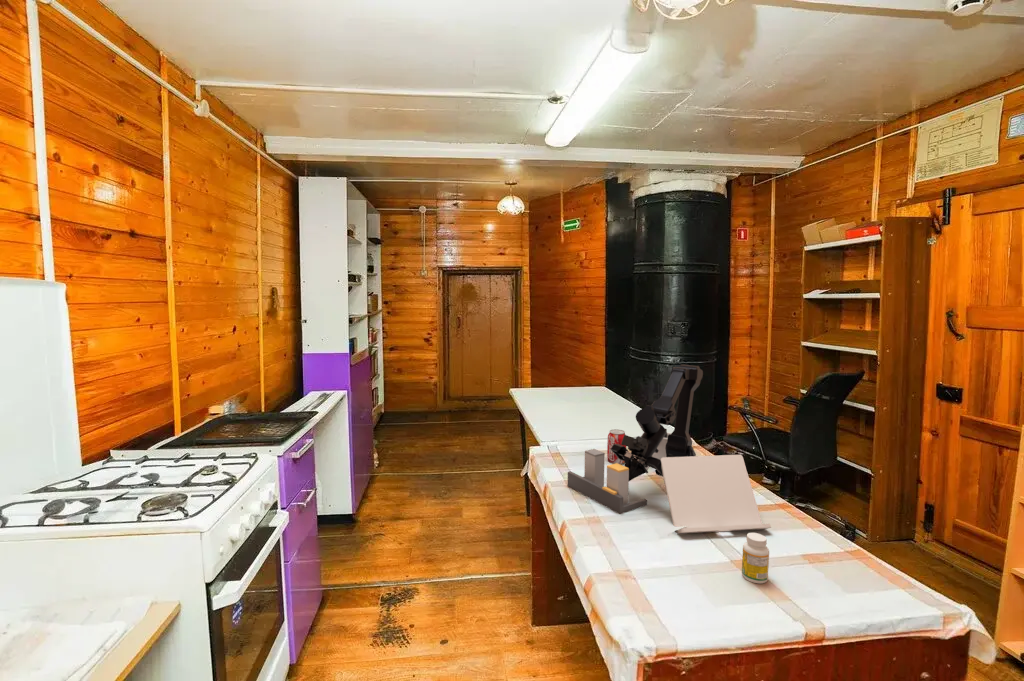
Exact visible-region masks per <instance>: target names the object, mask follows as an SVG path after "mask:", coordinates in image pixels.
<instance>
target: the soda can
mask: <svg viewBox="0 0 1024 681" xmlns="http://www.w3.org/2000/svg"><path fill="white" fill-rule="evenodd" d="M624 435H626V431H625V430H622V429H617V428H616V429H610V430H609V433H608V435H607V444H606V445H607V448H606V449H607V451H606V452H607V454H606V456H607V461H608V462H609V463H610V464H615V463H618V464H620V465H623V464H625V461H622V460H620V459H619V458H618V457H617V456H616V455H615V454H614V453H613V452H612V451H611V450H610V449H611V448H612V446H613V445H614V444H619V445H621V443H622V440H623V437H624ZM622 446H624V447H625V448H626V449H627V446H625V445H622Z"/></svg>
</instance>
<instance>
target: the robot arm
mask: <svg viewBox="0 0 1024 681" xmlns="http://www.w3.org/2000/svg"><path fill="white" fill-rule="evenodd" d="M703 375H704V371H703V369H701V368H700V366H699V365H689V364H680V365H679V366H673V367H672V368H671V371H670V377H669V379H668V380H667V383H666V385H665V387H664V390H663V391H662V393H661V396H660V397H659V398H658V399H656V400H654V401H653V403H652V404H651V405H647V404H646V405H645V407H644V408H641V409H639V411H637V412H636V414H635V420H636V422H637V424H638V425H639V427H640V429H641V430H642V434H641V436H640V435H638V436H636V437H632V436H629V435H627V434H625V435H624V437H623V440H622V443H621V445H619V444H614V445H613V446H612V448H611V449H610V450H611V451H612V452H613V453H614V454H615V455H616V456H617V457H618V458H619V459H620V460H622V461H625V462H624V466H625V467H628V468H629V482H631V481H632V480H634V479H636V478H637V477H640V476H642V475H644V474H649V469H650V468H651V469H654V472H655V474H656V476H657V475H658V476H660V477H662V478H663V473H662V468H661V460H660V459H657V458H654V457H652V455H653V454H654V452H655V453H658V451H659V450H658V449H657V447H658V446H659V444H660V442H661V441H662V439H663V438H664V437H665V438H667V433H668V431H667V430H668V429H667V428H665V427H664V426H663V425H665V426H671V425H672V424H673V423H675V424H674V430H673V431H672V432H670V433H671V435H670V434H669V435H668V440H667V443H666V447H665V449H666V457H690V456H697V454H696V451H695V450H694V447H693V439H692V438H691V435H690V433H689V430H690V424H691V418H692V417H691V416H692V408H693V402H694V401H693V400H694V393H695V391H696V390H697V388H699V386H700V384H701V380H702V379H703V377H704V376H703ZM676 403H677V408H676V409H675V405H676ZM622 445H625V446H626V448H625V447H624V446H622Z"/></svg>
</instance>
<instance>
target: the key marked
mask: <svg viewBox="0 0 1024 681" xmlns="http://www.w3.org/2000/svg"><path fill="white" fill-rule="evenodd" d="M629 483H630V481H629V468H628V467H625V465H623V464H618V463H615V464H612V463H610V464H608V465H607V464H606V487H608V488H610V489H612V490H614V491H616V492H617V494H618V495H620V496H622V497H623V505H625V504H628V503H629V487H630V486H629V485H630V484H629Z"/></svg>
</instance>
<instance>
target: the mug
mask: <svg viewBox="0 0 1024 681" xmlns="http://www.w3.org/2000/svg"><path fill="white" fill-rule="evenodd" d="M671 433H672V432H667V438H665V437H664V438H663V439H662V441H661V442H660V444H659V446H658V447H657V449H658V450H659V451H658V453H655V452H654V454H653V455H652V457H654V458H657V459H661V458H663V457H666V449H665V447H666V443H667V440H668V435H669V434H670V435H671Z"/></svg>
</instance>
